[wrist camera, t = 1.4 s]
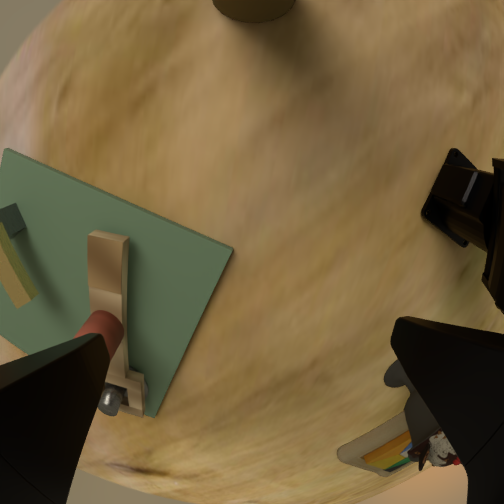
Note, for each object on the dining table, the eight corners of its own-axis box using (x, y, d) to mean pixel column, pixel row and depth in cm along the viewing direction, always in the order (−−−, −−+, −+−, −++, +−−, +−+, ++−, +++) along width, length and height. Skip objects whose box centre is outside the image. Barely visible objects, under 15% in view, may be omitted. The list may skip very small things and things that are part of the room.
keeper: (6, 213, 19) (-29, 230, 14) (20, 200, 19) (-17, 215, 14) (43, 285, 22) (13, 312, 17) (58, 275, 21) (27, 303, 17)
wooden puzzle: (379, 471, 37) (383, 485, 34) (331, 447, 32) (336, 467, 29) (461, 420, 34) (468, 434, 30) (442, 379, 28) (454, 397, 25)
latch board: (232, 247, 21) (232, 250, 20) (155, 414, 28) (154, 418, 27) (8, 148, 17) (4, 148, 16) (0, 330, 24) (-3, 332, 23)
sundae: (438, 358, 26) (501, 455, 12) (396, 397, 28) (441, 498, 14) (412, 337, 24) (486, 453, 10) (364, 381, 26) (412, 503, 12)
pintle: (156, 371, 25) (144, 406, 21) (143, 404, 27) (133, 436, 23) (96, 344, 24) (77, 375, 20) (91, 381, 26) (76, 410, 22)
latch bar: (145, 409, 26) (124, 480, 17) (95, 394, 25) (66, 459, 17) (149, 240, 19) (87, 312, 11) (79, 226, 19) (-2, 280, 10)
